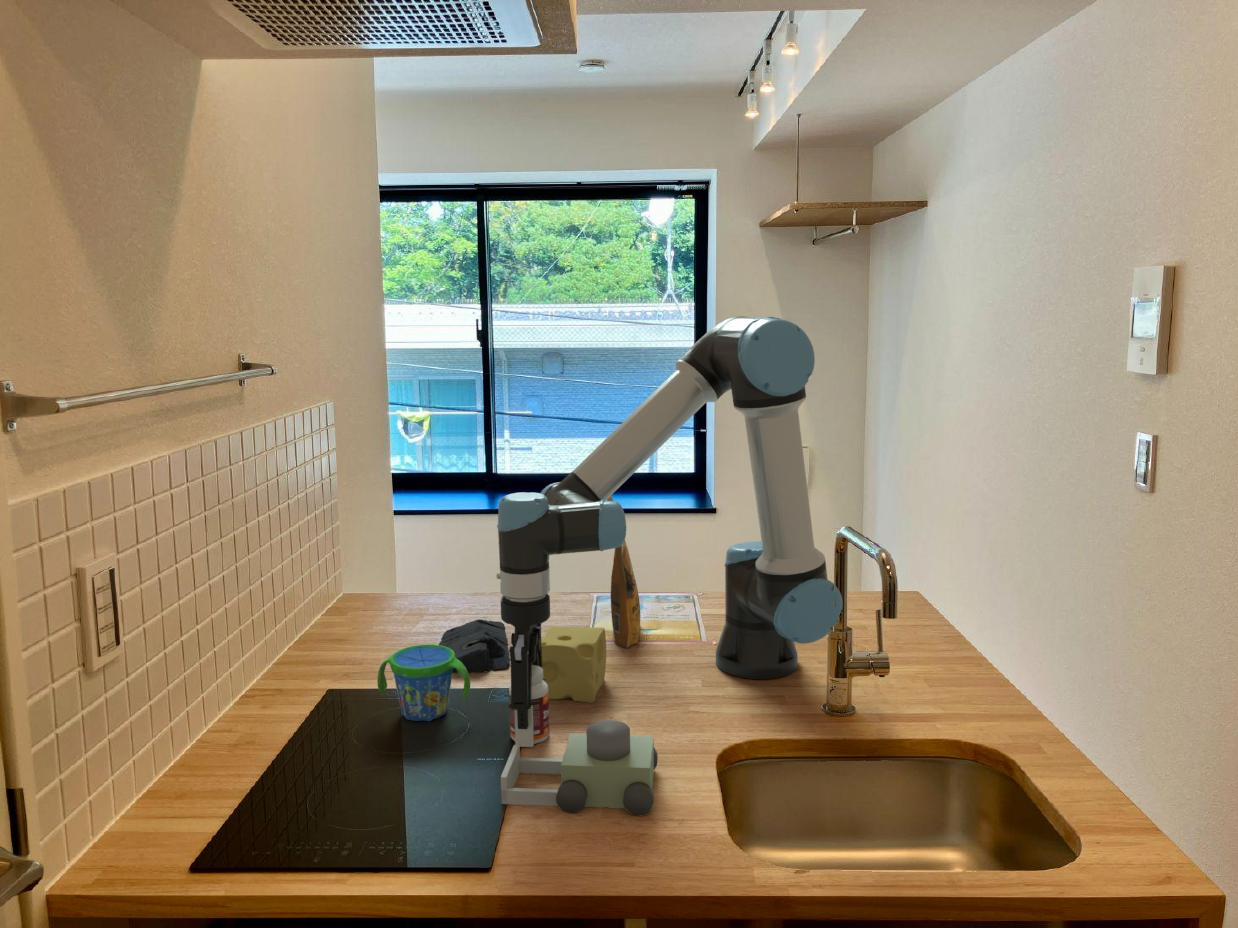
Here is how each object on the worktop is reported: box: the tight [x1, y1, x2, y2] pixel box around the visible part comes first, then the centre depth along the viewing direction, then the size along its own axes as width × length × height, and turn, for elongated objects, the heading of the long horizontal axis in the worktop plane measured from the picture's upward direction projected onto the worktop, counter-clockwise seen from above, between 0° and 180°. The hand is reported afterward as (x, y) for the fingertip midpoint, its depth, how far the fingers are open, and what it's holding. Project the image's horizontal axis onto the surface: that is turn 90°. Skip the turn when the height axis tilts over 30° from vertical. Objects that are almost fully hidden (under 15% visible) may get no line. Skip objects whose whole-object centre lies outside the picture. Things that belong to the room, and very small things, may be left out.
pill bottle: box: [508, 665, 550, 745], centre depth 143 cm, size 6×6×11 cm
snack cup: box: [376, 644, 471, 722], centre depth 152 cm, size 16×10×10 cm
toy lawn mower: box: [500, 719, 659, 817], centre depth 128 cm, size 21×12×9 cm, turn 85°
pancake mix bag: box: [606, 494, 641, 649], centre depth 185 cm, size 7×19×28 cm, turn 178°
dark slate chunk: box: [438, 618, 511, 674], centre depth 179 cm, size 15×22×5 cm
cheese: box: [541, 625, 607, 704], centre depth 160 cm, size 10×11×10 cm
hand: (528, 734), depth 144 cm, fingers closed on pill bottle, 6 cm apart
